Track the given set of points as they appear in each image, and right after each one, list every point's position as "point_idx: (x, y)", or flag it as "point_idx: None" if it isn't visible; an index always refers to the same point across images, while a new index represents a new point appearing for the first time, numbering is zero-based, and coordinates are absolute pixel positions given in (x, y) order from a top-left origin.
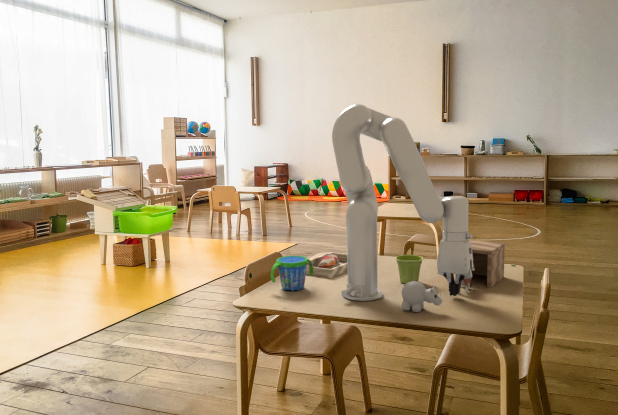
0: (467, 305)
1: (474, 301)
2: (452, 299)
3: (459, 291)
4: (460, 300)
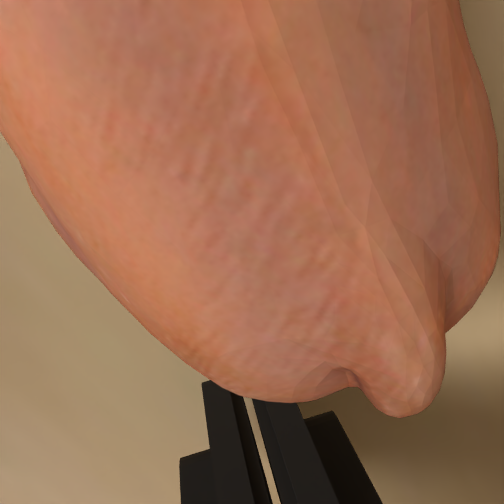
0: (483, 467)
1: (491, 313)
2: (258, 439)
3: (335, 422)
4: (349, 401)
